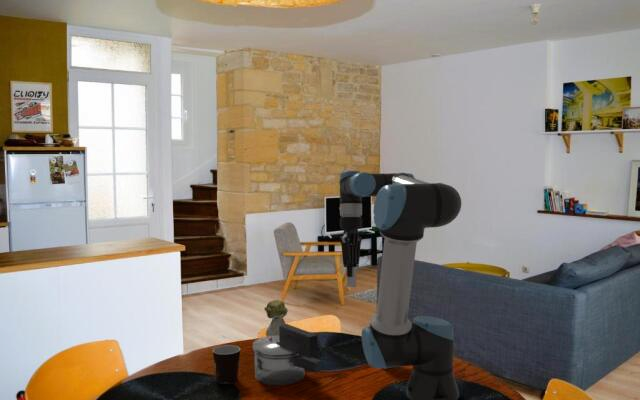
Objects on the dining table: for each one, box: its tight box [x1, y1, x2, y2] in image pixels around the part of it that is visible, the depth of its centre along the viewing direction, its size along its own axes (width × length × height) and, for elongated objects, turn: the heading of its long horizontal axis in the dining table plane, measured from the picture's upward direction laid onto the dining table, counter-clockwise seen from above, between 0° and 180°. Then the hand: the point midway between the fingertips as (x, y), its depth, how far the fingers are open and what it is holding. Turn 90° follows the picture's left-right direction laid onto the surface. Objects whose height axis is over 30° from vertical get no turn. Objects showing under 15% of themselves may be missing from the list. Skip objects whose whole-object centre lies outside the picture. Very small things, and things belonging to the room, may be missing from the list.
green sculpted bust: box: [264, 299, 289, 337], centre depth 212 cm, size 14×20×16 cm
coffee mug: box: [212, 344, 241, 384], centre depth 186 cm, size 12×9×10 cm
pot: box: [253, 350, 323, 386], centre depth 187 cm, size 28×17×9 cm, turn 48°
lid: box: [252, 323, 318, 358], centre depth 185 cm, size 26×17×8 cm
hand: (351, 286), depth 197 cm, fingers closed
